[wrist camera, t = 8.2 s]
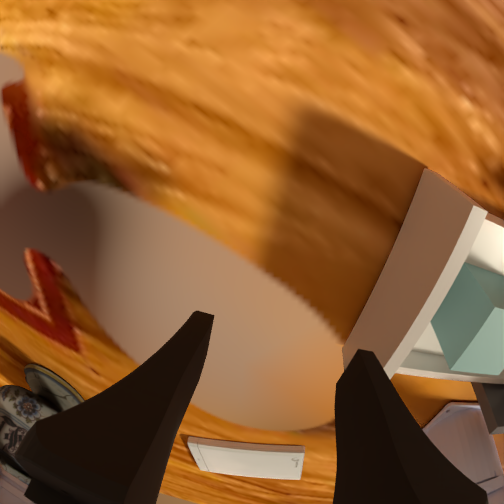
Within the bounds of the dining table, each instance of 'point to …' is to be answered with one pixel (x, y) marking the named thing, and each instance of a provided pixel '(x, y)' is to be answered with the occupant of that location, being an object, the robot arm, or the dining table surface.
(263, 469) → the hard drive
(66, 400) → the apothecary jar
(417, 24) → the dining table surface
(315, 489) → the dining table surface
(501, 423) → the housing
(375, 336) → the tray
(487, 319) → the teal block
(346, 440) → the robot arm
